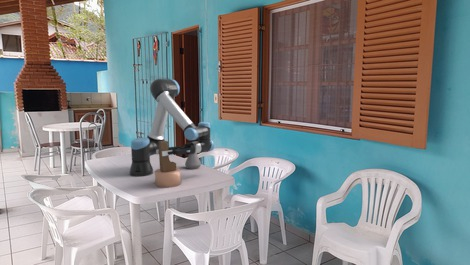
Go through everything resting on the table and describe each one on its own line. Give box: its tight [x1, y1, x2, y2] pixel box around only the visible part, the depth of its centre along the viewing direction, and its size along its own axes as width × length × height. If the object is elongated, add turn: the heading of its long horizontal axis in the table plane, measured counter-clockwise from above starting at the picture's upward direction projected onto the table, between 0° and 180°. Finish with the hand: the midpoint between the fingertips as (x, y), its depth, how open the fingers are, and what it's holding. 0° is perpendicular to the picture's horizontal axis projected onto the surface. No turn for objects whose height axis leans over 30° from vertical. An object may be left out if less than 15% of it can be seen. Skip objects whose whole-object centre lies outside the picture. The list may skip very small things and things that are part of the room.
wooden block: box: [158, 140, 177, 172], centre depth 201 cm, size 9×4×18 cm, turn 123°
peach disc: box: [154, 168, 182, 188], centre depth 203 cm, size 15×15×8 cm
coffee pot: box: [184, 153, 202, 170], centre depth 246 cm, size 21×12×15 cm, turn 30°
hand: (159, 153), depth 197 cm, fingers open, 6 cm apart
